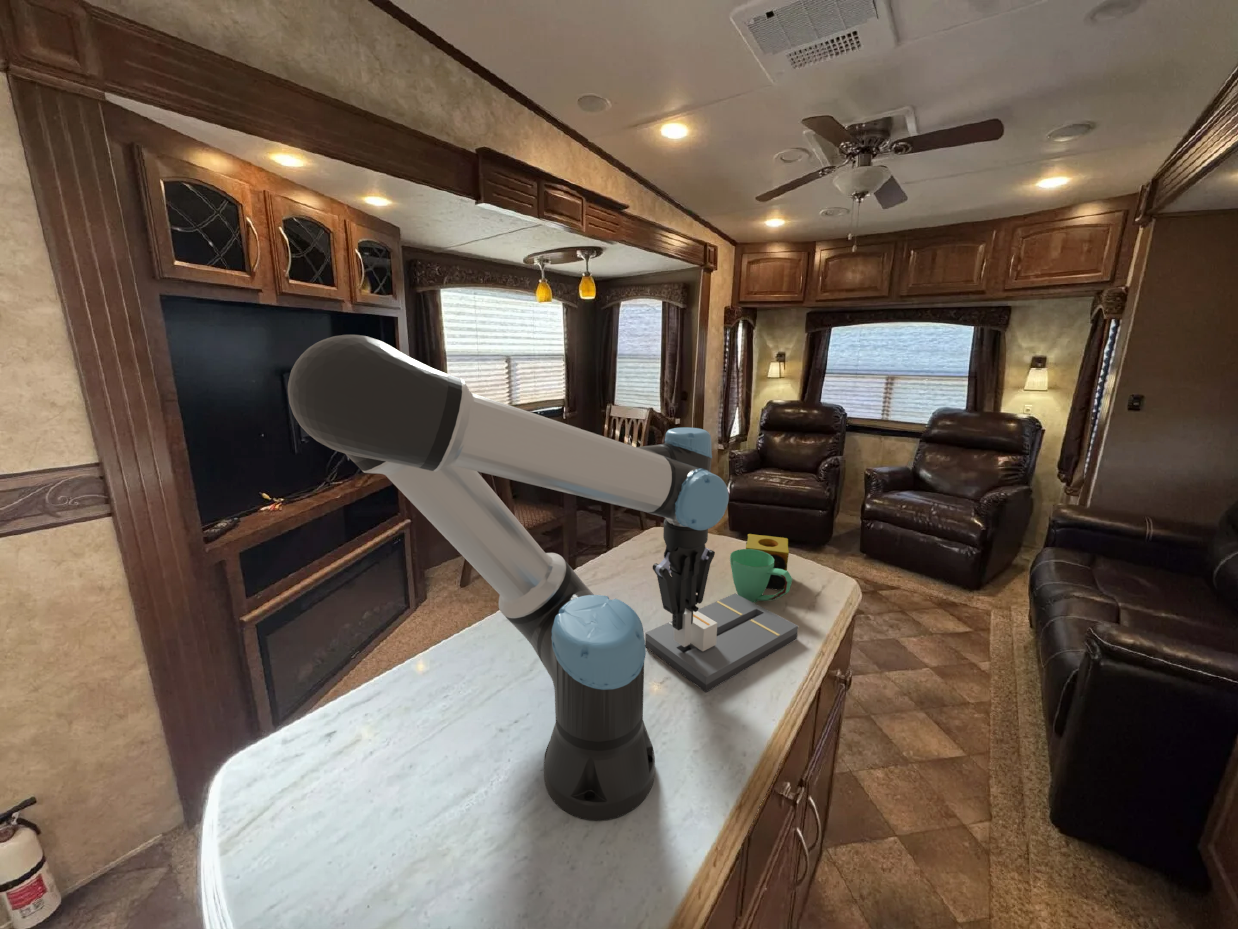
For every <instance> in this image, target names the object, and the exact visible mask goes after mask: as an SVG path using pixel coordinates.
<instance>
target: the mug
mask: <svg viewBox="0 0 1238 929" xmlns="http://www.w3.org/2000/svg"><path fill="white" fill-rule="evenodd" d="M729 555H730V556H729V563H730V567H731V568H730V569H731V573H732V574H731V575H732V579H733V580H732V581H733V585H734V587H735V591H736V594H737V595H739V596H741V597H743V598H745V599H747V600H749V601H751V602H753V603H758V602H759V601H761V602H764V601H765V602H768V601H771V602H773V601H775V600H777V599H780V598H781V597H783V596H784V595H786V594H789V593H790V589H791V586H792V583H793V577H792V575H791V573H790V572H789V571H788V570H787V571H785V570H783V569H777V568H773V567H774V558H773V557H772V556H771V555H769V554H768V553H765V552H763V551H759V550H753V549H746V548H742V549H741V548H740V549H736V550H733V551H732V552H731V553H730V554H729ZM770 575H778V576H781V577H783V578H784V580H785V587H784V589H783V590H779V591H778V592H777V593H775V594H764V593H765V591H766V587H767V584H768V582H769V579H770Z"/></svg>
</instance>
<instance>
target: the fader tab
mask: <svg viewBox="0 0 1238 929" xmlns="http://www.w3.org/2000/svg"><path fill="white" fill-rule="evenodd" d="M716 637H717V622H715V621H713V620H712V619H710V618H708V617H707V616H705V615H703V614H702V613H700V612H698V611H697V612H694V611H693V623H692V624H691V637H690V648H691V649H693V648H695V647H697V648H698V649H700V650H701V651H705V650H707V649H709V648H711V647H713V646H714V645H716Z"/></svg>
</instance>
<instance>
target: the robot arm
mask: <svg viewBox="0 0 1238 929" xmlns="http://www.w3.org/2000/svg"><path fill="white" fill-rule="evenodd" d="M288 378H289V379H288V382H287V395H288V403H289V406H290V409H291V412H292V414H293V416H294V418H295V419H296V422H298V425H299V426H300V427H301V428H302V430H304V431H305V432H306V433H307V435H309V437H311V438H313V439H314V440H315V441H316V442H318V443H320V444H321V445H324V446H325V447H327V448H329V449H331V450H334V451H336V452H339V453H343V454H345V455H346V456H347V458H349V459H350V460H351V462H353V463H354V464H355V465H356V466H357V467H358V468H359V469H360V471H362V472H363V473H365V474H381V475H384V476H385V477H387V479H388V480H389V481H390V482H391V483H392V484H393V485H394V486H395V487H396V488H397V489H398V490H399V491H400V492H401V493H402V494H403V495H404V496H405V497H406V498H407V500H408V501H410V503H411V504H412V505H413V506H414V507H415V508H416V509H417V510H418V511H419V512H420V513H421V514H422V515H423V516H424V517H425V518H426V520H427V521H429V522H430V524H432V526H433V527H434V528H435V529H437V531H438V532H439V533H440V534H441V535H442V536H443V537H444V539H446V540H447V541H448V542H449V543H450V545H452V547H454V549H455V550H457V552H458V553H459V554H460V555H462V557H463V558H464V559H465V560H466V561H467V562H468V563H469V565H471V566H472V567H473V569H475V571H477V573H478V574H479V575H481V577H482V578H483V579H484V580H485V581H486V582H487V583H488V584H489V585H490V587H492V589H493V590H495V592H496V593H498V595H499V596H498V609H499V611H500V612H501V614H502V615H503V617H505V618H506V619H507V620H508V621H509V623H511V624H512V625H513V626H514V627H515V628H516V629H517V630H518V631H519V632H520V633H521V634H522V636H523V637H524V638H525V639H527V641H528V643H529V644H530V645H531V646H532V648H533V650H534V651H535V653H536V655H537V656H538V658H539V660H540V662H541V663H542V665H543V667H544V668H545V670H546V671H547V673H548V674H549V677H550V679H551V680H552V683H553V687H554V688H553V689H554V711H555V712H554V713H555V724H554V725H553V730H552V731H551V732H552V733H551V736H550V738H549V741H548V744H547V746H546V749H545V752H544V757H543V758H544V759H543V778H544V785H545V788H546V791H547V793H548V795H549V796H550V798H551V800H552V801H553V802H554V803H555V804H556V805H557V806H558V807H559V808H560V809H561V810H563V811H564V812H566V813H568V814H569V815H571V816H573V817H577V818H580V819H584V820H589V821H605V820H611V819H616V818H619V817H622V816H624V815H626V814H628V813H629V812H632V811H634V810H635V809H636V808H637V807H638V806H640V805H641V803H642V802H643V801H644V800H645V799H646V798H647V796H648V795H649V793H651V792H650V791H651V789H652V787H653V785H654V784H653V783H654V780H655V774H656V773H655V769H656V764H655V763H656V756H655V751H654V747H653V744H652V741H651V739H650V736H649V733H648V730H647V728H646V724H645V722H644V715H643V714H644V685H645V684H644V680H645V679H644V678H645V660H646V656H647V653H646V652H647V650H646V648H647V647H645V634H644V633H645V632H644V626H643V623H642V621H641V619H640V617H639V615H638V614H637V613H636V611H635V610H634V609H633V608H632V607H631V606H630V605H629V604H627V603H626V602H624V601H622V600H620V599H617V598H613V599H610V597H609V595H601V594H594V592H592V591H591V590H590V589H589V588H588V586H587V585H586V584H585V583H584V582H583V581H582V579H581V578H580V576H578V574H577V573H576V572H575V571H574V569H573V568H572V567H571V566H570V565H569V564H568V562H567V561H566V560H565V559H564V557H563V556H562V555H560V554H558V553H556V552H545V551H544V549H542V547H541V546H540V545H539V543H538V542H537V541H536V540H535V539H534V538H533V536H532V535H531V534H530V532H529V531H528V530H527V529H526V528H525V527H524V525H522V523H521V522H520V521H519V520H518V518H517V517H516V516H515V515H514V514H513V512H512V511H511V510H510V509H509V508H508V506H507V505H506V504H505V503H504V502H503V500H501V498H500V497H499V496H498V494H497V493H496V492H495V491H494V490H493V489H492V487H491V486H490V485H489V484H488V483H487V481H486V480H485V478H483V477H482V475H481V474H480V473H483V474H487V475H491V476H494V477H495V476H496V477H498V478H499V477H500V478H503V479H508V480H512V481H516V482H520V483H524V484H528V485H532V486H536V487H540V488H541V487H542V488H544V489H545V488H546V489H550V490H554V491H557V492H562V493H565V494H570V495H575V496H579V497H583V498H586V499H591V500H595V501H599V502H603V503H607V504H611V505H615V506H620V507H624V508H628V509H633V510H636V511H641V512H645V513H647V514H650V515H655V516H658V517H663V518H664V520H663V535H662V536H663V540H664V543H665V549H664V552H663V559H662V560H661V562H660V563H659V564H658V563H657V562H656V563H654V564H653V565H652V570H653V572H654V573H655V575H656V578H657V584H658V587H659V593H660V597H661V603H662V608H663V609H664V610H665V611H666V612H669V613H670V614H672V616H671V618H672V619H671V621H672V626H673V627H674V640H675V641H676V642H678V643H679V644H680V645H682V646H683V647H686V646H688V645H690V637H691V624H692V623H693V611H694V612H697V611H698V609H700V608H699V606H697V604H698V605H699V604H702V603H703V601H704V595H705V590H706V586H707V583H708V578H709V577H708V576H709V573H710V568H711V565H712V564H711V563H712V562H713V559H714V557H715V554H716V552H715V551H714V550H712V549H711V548H710V549H709V548H707V547H706V544H707V543H708V540H709V539H708V538H709V529H711V528H713V527H714V526H716V525H717V524H718V523H720V521H721V519H723V517H724V515H725V513H726V510H727V509H728V508H727V507H728V504H729V501H730V500H729V499H730V498H729V495H730V494H729V489H728V486H727V484H726V482H725V481H724V479H722V478H721V477H720V476H718V475H717V474H714V472H713V473H712V459H713V453H712V450H713V449H712V436H711V434H710V432H709V431H707V430H705V429H704V428H703V429H702V428H699V427H686V426H685V427H674V428H670V429H668V430H667V431H666V433H665V435H664V436H665V437H664V443H660V444H654V445H645V446H634V445H630V444H627V443H624V442H621V441H618V440H616V439H612V438H610V437H606V436H603V435H601V434H597V433H595V432H591V431H588V430H585V429H581V428H580V427H576V426H573V425H571V424H566V423H564V422H561V421H558V420H556V419H552V418H548V417H545V416H544V415H540V414H537V413H534V412H532V411H531V412H530V411H528V410H526V409H522V408H519V407H516V406H513V405H510V404H506V403H503V402H501V401H498V400H494V399H492V398H488V397H485V396H482V395H479V394H476V393H473V392H471V391H470V389H469V387H468V385H467V383H466V382H465V379H463V378H461V377H457V376H455V375H452V374H449V373H446V372H445V371H444V372H443V371H441V370H438V369H436V368H433V367H431V366H430V365H427V364H425V363H423V362H421V361H419V360H417V359H415V358H414V357H413V358H412V357H411V356H408V355H407V354H405V353H404V352H402V351H400V350H398V349H396V348H395V347H393V346H392V345H390V344H388V343H386V342H384V341H382V340H379V339H376V338H373V337H370V336H366V335H360V334H342V335H334V336H331V337H327V338H324V339H322V340H320V341H318V342H315V343H314V344H313V345H311V346H309V347H308V348H307V349H306V350H304V352H303V353H302V354H301V355H300V356H299V358H297V359H296V361H295V363H294V365H293V366H292V368H291V370H290V374H289V377H288Z"/></svg>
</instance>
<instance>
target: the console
mask: <svg viewBox="0 0 1238 929" xmlns="http://www.w3.org/2000/svg"><path fill="white" fill-rule="evenodd" d="M698 612H700V613H702V614H703V615H705V616H707V617H708V618H710V619H712V620H713V621H715V622H717V637H716V645H714V646H713V647H711V648H709V649H707V650H705V651H701V650H700V649H698V648H697V647H695V648H693V649H691V648H690V645H688V646H686V647H683V646H682V645H680V644H679V643H678V642H676V641H675V640H674V627H673V626H672V620H671V621H669V622H666V623H664V624H662V625H660V626H658V627H655V628H653V629H650V630H649V631H646V632H644V633H645V634H644V639H645V647H646V648H647V649H648V650H649V651H651V652H652V653H653V654H655V655H656V656H657V657H659V658H660V659H661V660H663V661H664V662H666V663H667V664H668V665H669V666H670V667H672V668H673V669H674V670H675V671H677V672H678V673H679V674H681V675H682V676H683V677H685V678H686V679H688V681H689V682H691V683H693V684H694V685H695V686H696V687H697V688H700V689H701V690H702V691H703V692H704V693H707V692H709V691H711V690H712V689H714V688H716V687H718V686H719V685H721V684H723V683H724V682H727V681H728V680H730V679H731V678H733V677H735V676H737V675H738V674H741V673H742V672H744V671H745V670H747V669H748V668H750V667H752V666H753V665H755V664H757V663H759V662H761V661H762V660H764V659H766V658H767V657H769V656H771V655H772V654H774V653H776V652H778V651H779V650H781V649H782V648H785V646H788V645H790V644H791V643H793V642H794V641H797V639H798V631H799V625H797V624H795V623H794V622H792V621H790V620H787V619H786V618H784V617H782V616H780V615H778V614H776V613H774V612H773V611H770V610H768V609H766V608H765V607H762V606H761V605H758V604H757V603H756V602H754V603H753V602H751V601H749V600H747V599H745V598H743V597H741V596H739V595H738V594H737V593H733V594H730V595H728V596H726V597H723V598H722V599H719V600H716V601H714V602H712V603H710V604H707V605H705V606H704V607H701V608H699V609H698Z"/></svg>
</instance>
